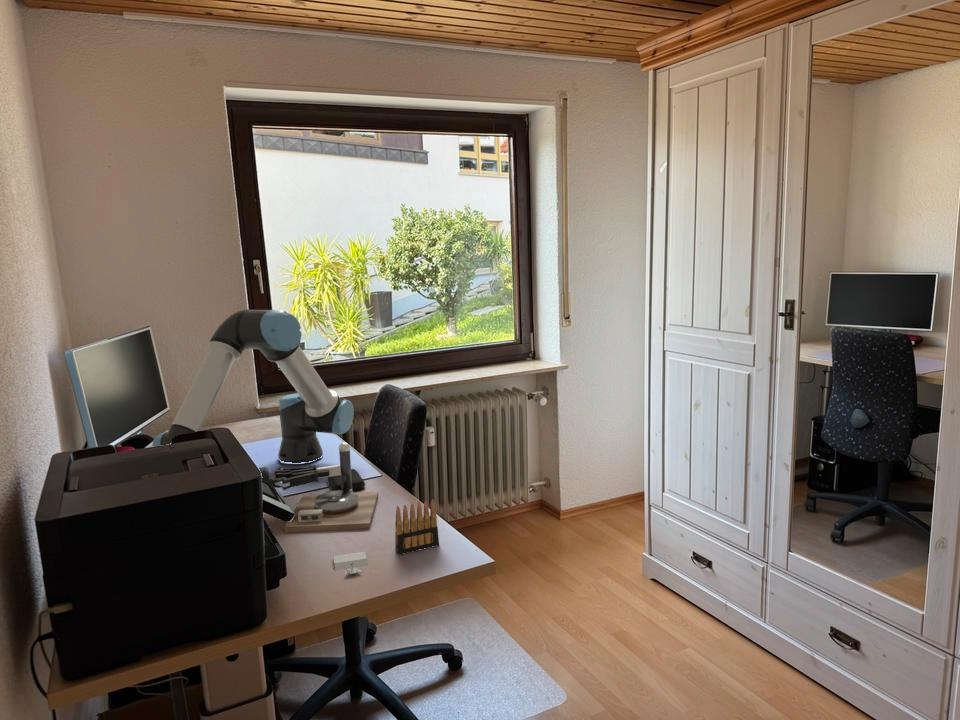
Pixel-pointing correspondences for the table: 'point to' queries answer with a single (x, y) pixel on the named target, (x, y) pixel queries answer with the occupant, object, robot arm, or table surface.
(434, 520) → the ammunition clip
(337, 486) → the carrying case or bag
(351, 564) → the white sign holder
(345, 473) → the grey rod on disc
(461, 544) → the table surface
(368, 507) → the level stand
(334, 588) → the table surface
